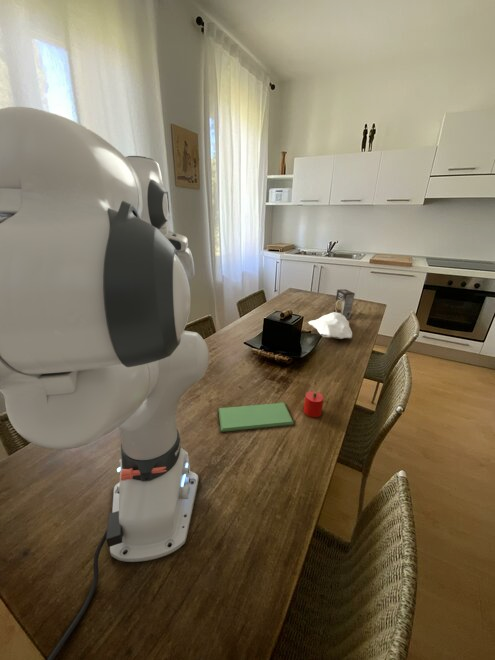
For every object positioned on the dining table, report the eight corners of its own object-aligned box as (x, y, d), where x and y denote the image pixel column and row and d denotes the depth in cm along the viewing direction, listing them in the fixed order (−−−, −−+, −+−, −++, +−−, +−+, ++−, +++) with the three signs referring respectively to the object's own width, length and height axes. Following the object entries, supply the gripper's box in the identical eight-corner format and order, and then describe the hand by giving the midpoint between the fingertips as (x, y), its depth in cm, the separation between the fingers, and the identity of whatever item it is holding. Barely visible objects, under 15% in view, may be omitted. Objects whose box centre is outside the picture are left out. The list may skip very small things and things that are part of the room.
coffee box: (332, 314, 177) (336, 289, 171) (341, 313, 179) (345, 288, 173) (341, 319, 169) (345, 293, 163) (350, 318, 171) (355, 292, 165)
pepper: (324, 416, 89) (327, 397, 86) (307, 418, 88) (309, 399, 85) (317, 405, 94) (320, 387, 91) (301, 406, 93) (303, 388, 90)
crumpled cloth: (298, 338, 139) (303, 321, 135) (314, 316, 168) (318, 302, 164) (346, 354, 132) (352, 338, 128) (353, 328, 161) (359, 314, 157)
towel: (293, 424, 85) (293, 422, 84) (221, 432, 81) (221, 429, 81) (284, 403, 94) (284, 401, 94) (218, 409, 90) (218, 407, 90)
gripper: (96, 241, 60) (108, 300, 67) (192, 243, 63) (195, 299, 70) (105, 235, 66) (115, 290, 72) (193, 237, 69) (195, 290, 75)
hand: (155, 295), depth 71 cm, fingers open, 8 cm apart
